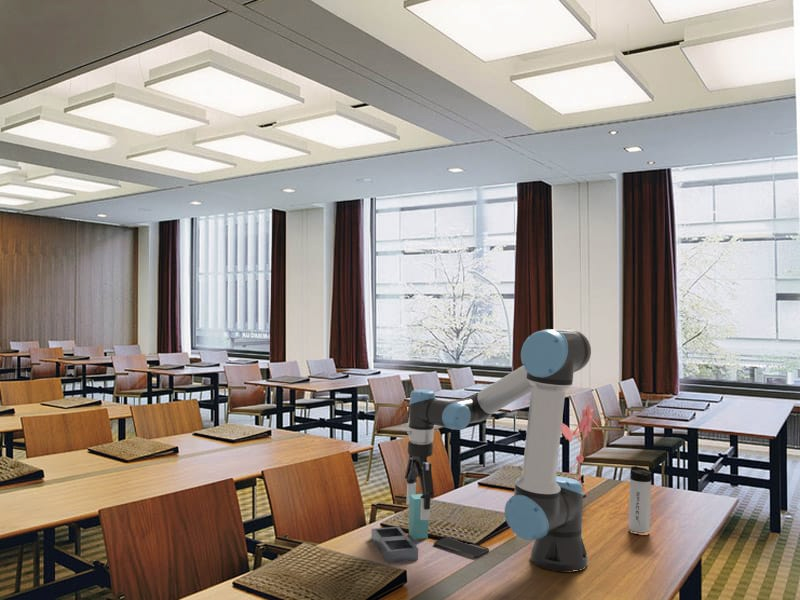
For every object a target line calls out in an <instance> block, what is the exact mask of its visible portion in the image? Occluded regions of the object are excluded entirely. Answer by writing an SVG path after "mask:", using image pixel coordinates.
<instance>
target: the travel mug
mask: <svg viewBox="0 0 800 600" xmlns="http://www.w3.org/2000/svg"><path fill="white" fill-rule="evenodd" d="M629 471H630V475H629V477H630V478H629V497H628V498H629V501H628V503H629V504H628V508H629V509H628V532H629V531H632V532H637V533H645V532H649V531H651V528H650V527H651V506H652V505H651V504H652V503H651V502H652V501H651V500H652V499H651V498H652V496H651V495H652V471H651V470H649V469H647V468H644V467H640V466H639V467H638V465H637V466H636V465H633V466H631V467H630V470H629Z"/></svg>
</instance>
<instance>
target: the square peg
mask: <svg viewBox="0 0 800 600" xmlns="http://www.w3.org/2000/svg"><path fill="white" fill-rule="evenodd" d="M421 495H422V493H416V494H415V495H410V505H408V506H409V507H408V509H409V510H408V511H409V513H408V536H410V538H411V540H425V539H428V537H429V520H421V519H420V516H421V498H420V497H421Z"/></svg>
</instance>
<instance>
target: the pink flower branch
mask: <svg viewBox="0 0 800 600" xmlns="http://www.w3.org/2000/svg"><path fill="white" fill-rule="evenodd" d="M581 412H582V413H581V415H582V417H581V421H579V423H578V425H577V427H576V428H575V430H574V431H573V432H572V430H571V428H570V427H568V425H567V424H565V423H563V422H562V426H561V434H562V435H563V437H564V438H565V441H567V440H568V442H570V443H572V441H573V435H574V436H575V437H576V438H577V440H578V441H579V442H580V454H577V455H576V458H575V460H576V462H575V463H574V464H572V465H571V466H570V468H569V469H570V470H569V471H570V478H571V479H573V478H572V477H573V475H572V474H573V473H572V471H573V470H572V468H573V467H574V466H576V464H578V475H579V478H577V481H579V482H580V483H581V484H582V479H581V467H580V466H581V465H580V463H582V462H583V461H584V459H585V458H584V456H583V441H582V440H581V438H580V437H579V436H578V435H577V434H579V433H582V436H583V438H584V439H585V438H587V437H588V433H589V432H592V421H593V422H594V424H595V425H596V426H597V427H598V428H599V427H600V426H599V424H597V422H596V421H595V420H594V418H593V416H594V409H593V408H592V409H591V403H587V405H586V408H585V407H584V408H582V411H581ZM582 487H583V492H584V493H585V494H586V495H588V493H587V491H586V489H585V488H584V486H583V485H582ZM608 504H609V503H608V502H606V505H608ZM602 506H603V504H602V505H600V507H602Z"/></svg>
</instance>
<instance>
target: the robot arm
mask: <svg viewBox="0 0 800 600" xmlns="http://www.w3.org/2000/svg"><path fill="white" fill-rule="evenodd" d="M591 355H592V347H591V344H590V341H589V340H588V338H587V337H586V335H585V334H583V333H582V332H581V331H579V330H577V329H576V330H575V329H572V328H559V329H558V328H557V329H555V328H554V329H552V328H551V329H550V328H546V329H542V330H538V331H535V332H534V333H532V334H530V335H529V336H528V337H527V338H526V340H525V341H524V342H523V345H522V347H521V351H520V360H521V363H522V365H521V366H520V367H517V369H515V370H512V371H511V372H509V373H508V374H507V375H505V376H503V377H502V378H500V379H498V380H497V381H494V382H493V383H492V384H490V385H488V386H487V387H485V388H484V389H482V390H479V392H477V393H475V394H473V395H472V396H470V397H468V398H461V399H454V400H449V401H448V400H443V399H441V400H440V399H437V398H436V392H435V391H433V390H430V389H420V388H419V389H414V390H412V391H411V392H410V397H409V404H408V405H409V406H408V407H409V408H408V409H409V411H408V412H409V414H408V415H409V416H408V417H409V419H408V430H407V431H406V433H407V435H408V436H407V437H408V440H409V441H408V442H407V454H408V461H407V465H406V469H405V470H406V471H405V474H404V478H405V480H406V501H405V503H406V505H407V506H409V505H410V495H415V494H417V483H418V481H419V485H420V489H421V494H422V495H421V497H420V498H421V516H420V519H421V520H428V521H429V520H431V501H432V498H435V493H434V482H433V474H432V462H428V457H431V456H433V453H434V443H433V441H434V435H435V434H434V432H435V431H434V430H435V427H434V426H437V427H441V428H446V429H450V430H453V431H454V430H457V431H462V430H465V429H466V427H468V426H469V424H474V423H481V422H483V421H486V420H488V419H490V418H491V417H492V415H493V413H496V412H497V411H499V410H501V409H503V408H505V407H507V406H508V405H510V404H512V403H513V402H515V401H517V400H519V399H520V398H523V397H524V396H526V395H528V394H529V393H530V398H529V409H528V419H527V425H526V427H527V428H526V436H525V446H524V454H523V455H524V456H523V464H522V473H521V476H519V477H518V478H517V479H516V480H515V484H514V485H515V486H514V492H513V493H514V494H513V495H512V496H511V497H509V498H508V499H507V501H506V503H505V506H504V517H505V520H506V524H507V525H508V526H509V528H510V529H511V531H512V532H513V533H514V535H516V536H518V537H519V538H521V539H523V540H525V541H526V540H527V541H534V542H533V545H532V547H531V550H530V552H531V553H530V554H531V555H530V559H531V561H532V563H534V565H537V566H538V567H540V568H542V569H545V570H548V569H549V571H552V570H555V571H554V572H558V571H573V570H580V569H583V568H584V567H586V566H587V567H588V553H587V551H586V547H585V546H586V545H585V543H584V540H583V539H584V538H583V535H582V529H583V502H584V500H583V499H584V489H583V488H584V486H583V484H582V482H581V483H580V482H579V481H578V479H577V480H576V479H574V478H572V479H571V477H566V476H561V475H560V476H559V475H557V469H558V461H559V450H560V443H561V434H562V431H561V426H562V423H563V415H564V407H565V399H566V398H565V396H566V391H567V390H568V389H569V388H570V387H572V386H573V382H574V374H575V373H576V372H579V371H581V370H582V369H584V368H585V367H586V366H587V365H588V363H589V362H590V359H591ZM417 478H418V479H419V480H417ZM582 486H583V487H582ZM587 567H586V568H587ZM583 570H584V569H583ZM580 571H581V570H580Z"/></svg>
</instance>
